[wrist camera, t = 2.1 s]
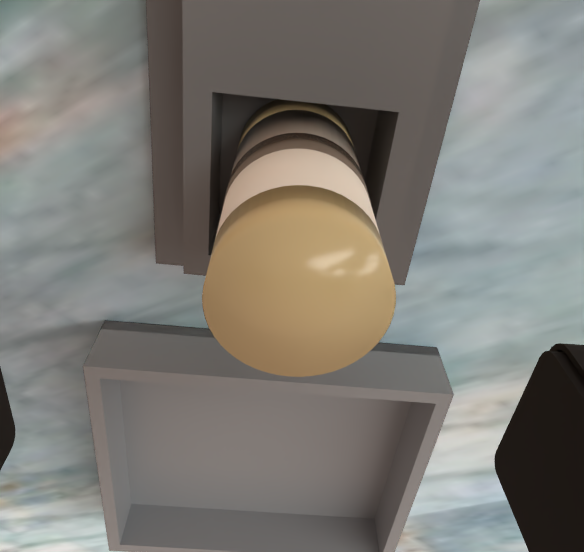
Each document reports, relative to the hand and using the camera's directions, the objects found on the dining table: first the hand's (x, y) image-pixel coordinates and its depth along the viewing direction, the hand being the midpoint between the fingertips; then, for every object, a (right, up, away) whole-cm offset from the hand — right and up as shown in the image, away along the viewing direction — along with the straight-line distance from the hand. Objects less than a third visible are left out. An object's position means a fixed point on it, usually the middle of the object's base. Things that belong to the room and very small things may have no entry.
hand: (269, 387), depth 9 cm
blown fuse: (+1, +6, +9) cm, 11 cm away
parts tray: (-1, -6, +18) cm, 19 cm away
